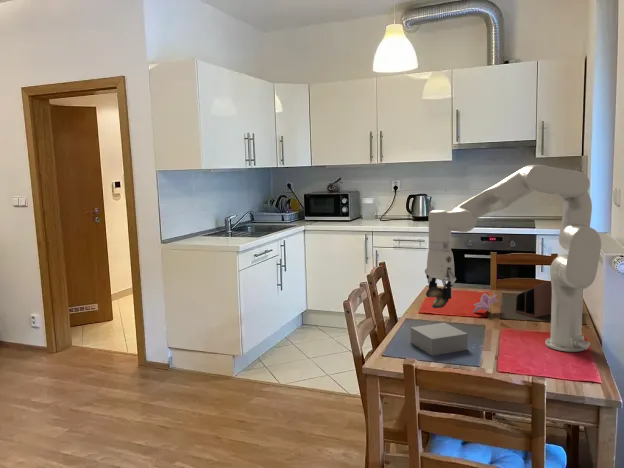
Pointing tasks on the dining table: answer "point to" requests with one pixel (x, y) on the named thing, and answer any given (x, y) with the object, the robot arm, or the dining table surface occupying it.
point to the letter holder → (535, 301)
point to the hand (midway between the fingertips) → (439, 296)
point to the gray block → (439, 338)
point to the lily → (485, 302)
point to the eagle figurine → (437, 297)
